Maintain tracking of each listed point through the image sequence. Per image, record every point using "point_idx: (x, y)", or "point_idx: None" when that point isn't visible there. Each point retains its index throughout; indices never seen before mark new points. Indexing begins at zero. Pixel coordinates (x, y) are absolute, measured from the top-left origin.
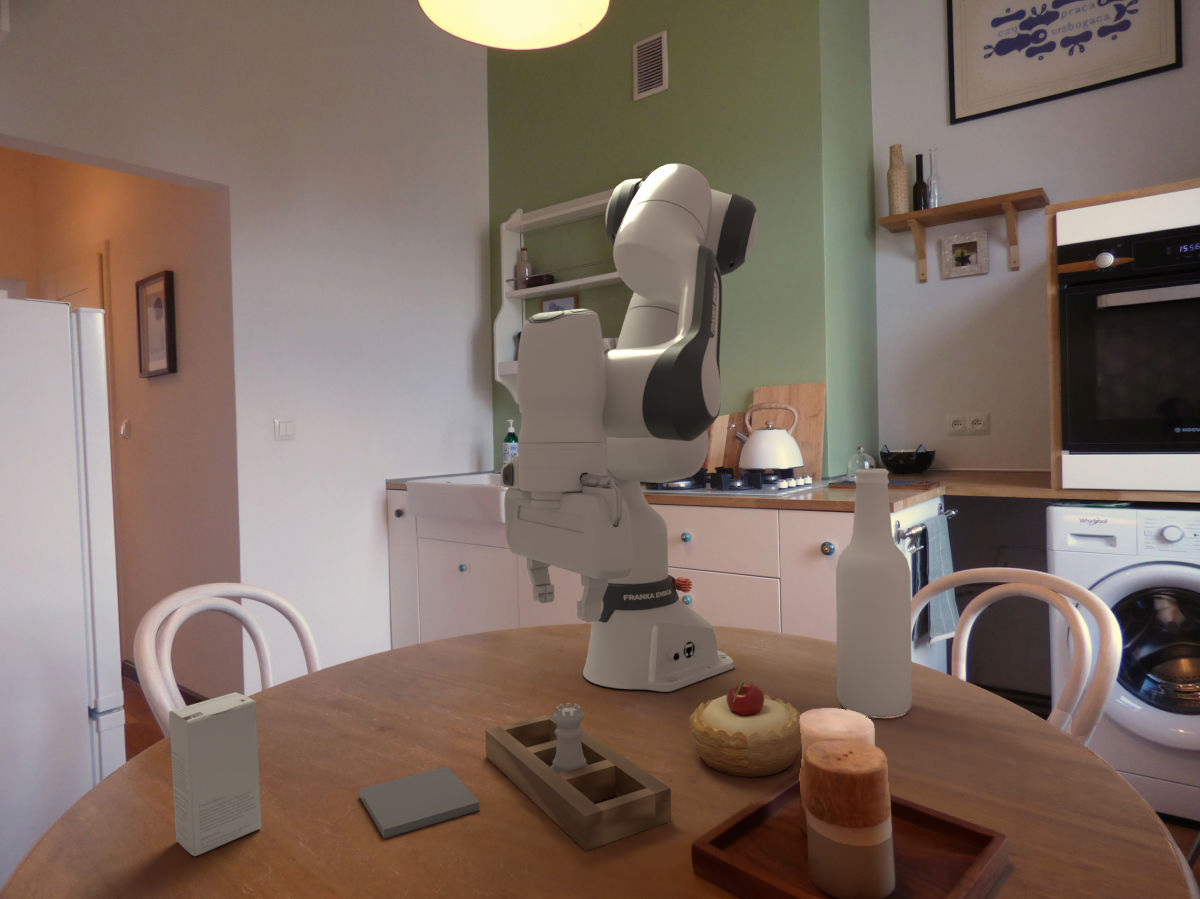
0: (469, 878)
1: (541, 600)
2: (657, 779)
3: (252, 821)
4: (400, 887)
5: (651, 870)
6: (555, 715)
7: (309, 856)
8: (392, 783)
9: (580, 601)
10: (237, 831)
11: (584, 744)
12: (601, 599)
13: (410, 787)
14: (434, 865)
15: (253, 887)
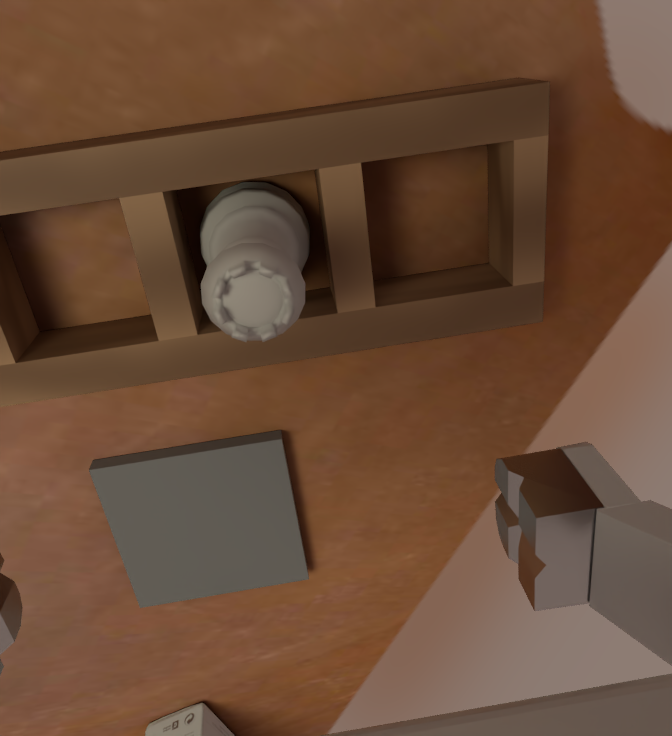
0: (480, 476)
1: (13, 613)
2: (492, 91)
3: (210, 724)
4: (448, 554)
5: (635, 209)
6: (253, 337)
7: (309, 646)
8: (137, 562)
9: (555, 597)
10: (222, 730)
11: (191, 187)
12: (666, 513)
13: (168, 537)
14: (419, 513)
15: (353, 690)
